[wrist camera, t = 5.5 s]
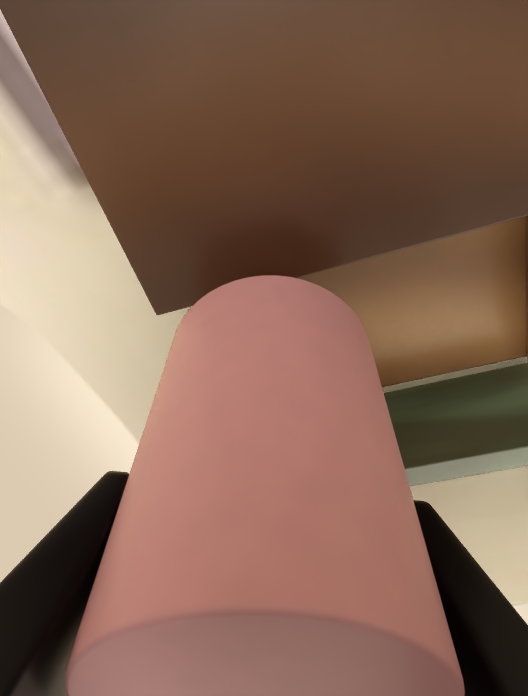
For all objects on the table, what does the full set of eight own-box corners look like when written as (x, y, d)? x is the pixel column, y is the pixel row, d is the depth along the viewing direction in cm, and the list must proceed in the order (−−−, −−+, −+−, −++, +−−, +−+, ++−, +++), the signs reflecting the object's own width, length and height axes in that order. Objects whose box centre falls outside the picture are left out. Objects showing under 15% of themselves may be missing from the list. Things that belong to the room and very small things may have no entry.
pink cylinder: (397, 397, 14) (506, 749, 7) (233, 454, 15) (198, 787, 9) (322, 237, 11) (386, 563, 4) (132, 325, 13) (-30, 667, 6)
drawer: (549, 395, 23) (604, 472, 19) (285, 447, 26) (286, 525, 22) (558, 60, 15) (655, 75, 11) (177, 184, 18) (148, 231, 14)
